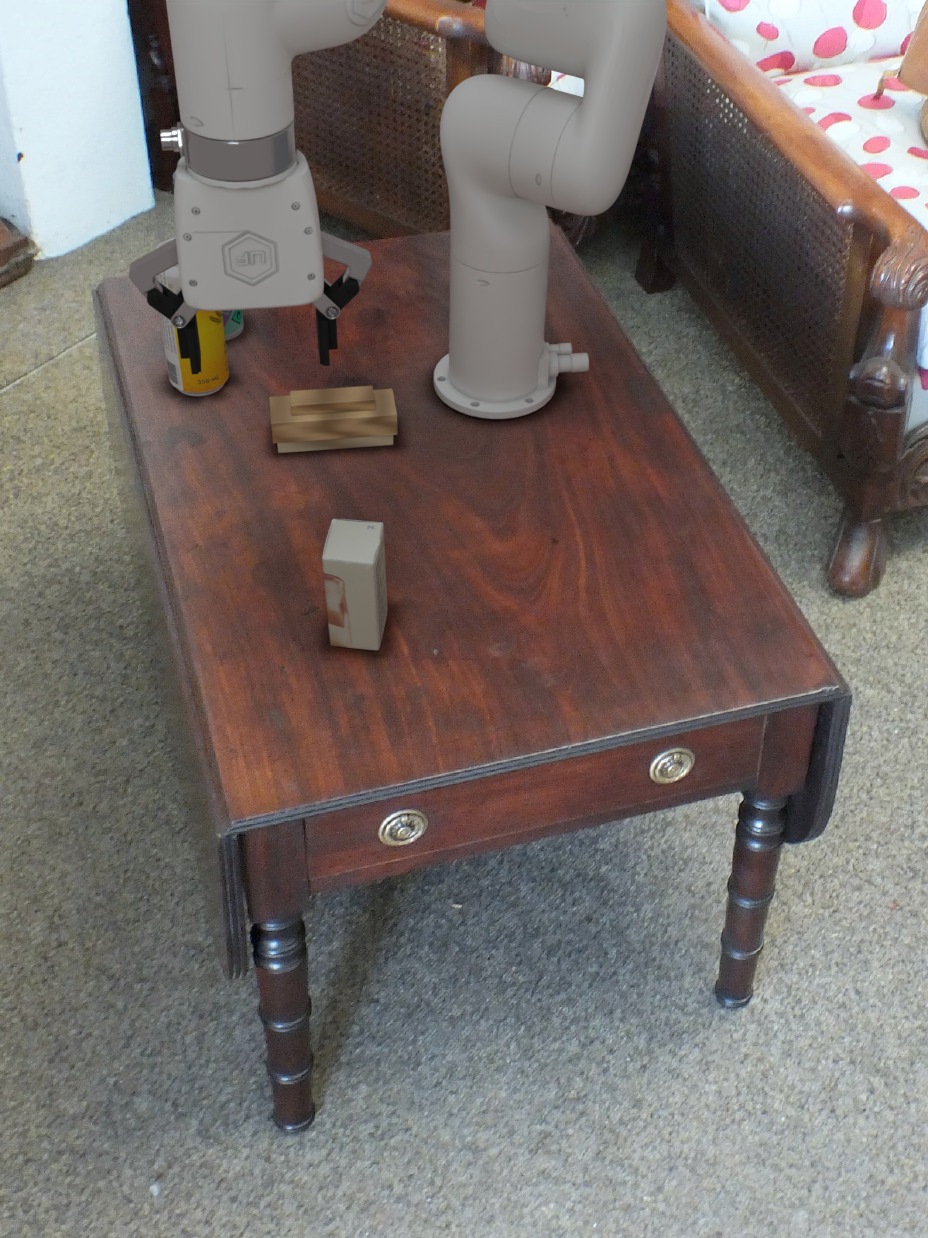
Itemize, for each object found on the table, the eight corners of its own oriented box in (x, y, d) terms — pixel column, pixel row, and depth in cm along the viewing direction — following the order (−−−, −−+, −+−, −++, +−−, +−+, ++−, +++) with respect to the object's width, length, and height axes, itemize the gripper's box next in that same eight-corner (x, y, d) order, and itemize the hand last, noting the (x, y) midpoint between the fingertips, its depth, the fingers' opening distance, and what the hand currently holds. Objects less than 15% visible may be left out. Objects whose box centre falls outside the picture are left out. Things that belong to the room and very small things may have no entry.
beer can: (242, 381, 142) (227, 250, 132) (195, 406, 139) (176, 273, 128) (204, 358, 145) (187, 228, 135) (158, 382, 142) (136, 250, 131)
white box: (338, 605, 119) (332, 515, 111) (389, 610, 118) (386, 520, 111) (326, 648, 115) (319, 557, 108) (378, 653, 114) (375, 563, 107)
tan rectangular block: (393, 419, 138) (392, 378, 134) (397, 446, 135) (396, 404, 131) (272, 428, 136) (268, 386, 133) (274, 455, 133) (269, 412, 130)
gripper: (107, 175, 89) (143, 396, 101) (373, 163, 91) (379, 380, 103) (111, 125, 95) (145, 340, 107) (363, 114, 97) (369, 327, 109)
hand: (260, 360), depth 105 cm, fingers open, 9 cm apart
